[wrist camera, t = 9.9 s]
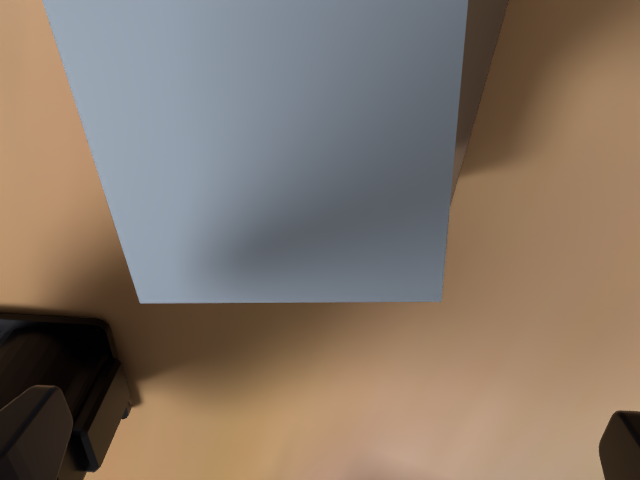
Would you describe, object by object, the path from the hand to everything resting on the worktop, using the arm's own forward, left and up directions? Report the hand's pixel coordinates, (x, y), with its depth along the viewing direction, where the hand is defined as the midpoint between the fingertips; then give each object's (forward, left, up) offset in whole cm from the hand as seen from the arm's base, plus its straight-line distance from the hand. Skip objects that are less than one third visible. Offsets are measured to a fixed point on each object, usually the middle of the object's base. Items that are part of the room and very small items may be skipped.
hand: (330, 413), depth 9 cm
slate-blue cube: (-1, +3, -8) cm, 9 cm away
